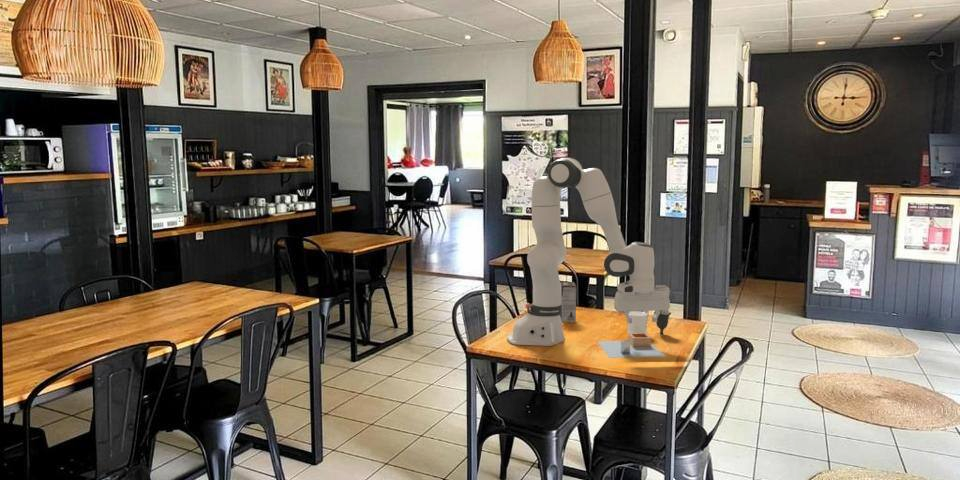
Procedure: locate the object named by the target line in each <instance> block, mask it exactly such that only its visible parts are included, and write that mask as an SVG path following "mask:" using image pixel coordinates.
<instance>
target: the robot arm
mask: <svg viewBox="0 0 960 480" xmlns="http://www.w3.org/2000/svg"><path fill="white" fill-rule="evenodd" d="M532 183H533V184H532V188H531V203H530V204H531V225H532V229H533V230H534V234H535V239H536V244H535V245H533V246H532V247H531V249H529V252H528V253H527V256H526V260H527V264H528V266H529V270H530V275H531V280H532V281H531V282H532V302H531V303H529V302H526V304H525V308H526V310H527V313H526V314H524V315H523V316H522V317H520V318H519V319H518V320H516V321H515V323H514V325H513V328H512V329H513V330H512V332H510V333H508V335H507V342H508V343H510V344H512V345H518V346H519V345H520V346H521V345H522V346H544V347H552V346H554V345H556V344H560V343H563V342H564V341H565V340H566V339H565V334H564V331H563V324H562V323H563V322H562V321H561V319H562V304H561V283H560V282H561V281H560V276H559V275H560V274H559V266H560V265H561V264H562V263H563V262H564V261H565V259H566V258H567V253H568V252H567V246H566V245H565V239H564V235H563V229H562V221H561V216H562V215H561V192H562V190H563V189H566V188H568V189H569V188H575V189H576V190H577V191H578V192H579V194H580V197H581V201H582V204H583V207H584V209H585V211H586V213H587V215H588V217H589V218H590V220H592V221H593V222H595V223H596V224H598V225H599V226H600V228H601V229H602V232H603V234H604V237H605V240H606V242H607V245H608V248H609V254H608V255H606V257H605V258H604V262H603V268H604V270H605V272H606V273H607V274H608V275H609V276H612V277H614V278H615V277H616V278H620V277H626V276H629V280H627V281H624V282H621V283H619V284H617V286H616V287H617V288H616V289H617V290H618V291H616V293H615V296H614V303H613V305H614V306H613V308H614V309H615V311H616V312H618V313H623V314H624V316H625V317H626V322H627V323H632V318H629V316H628V314H629V312H631V311H640V312H649V311H650V312H651V311H654V312H656V314H654V316H651V322H652V323H656V322H657V318H658V316H659V314H660V310H668V311H669V310H670V308H671V301H670V297H669V296H670V294H671V293H670V292H671V289H670V287H669V286H667V285H666V284H661V285H660V284H659V285H658V284H656V285H655V275H654V270H655V252H654V248H653V246H652V245H651V244H649V243H648V242H647V243H646V242H642V241H634V242H631V243H630V244H629V245H627V244H626V241H625V239H624V236H623V233H622V230H621V228H620V227H621V226H620V225H619V222H618V217H617V212H616V206H615V201H614V198H613V193H612V191H611V188H610V186H609V184H608V181H607V179H606V177H605V175H604V173H603V171H602V170H601V169H600V168H597V167H591V168H590V167H589V168H586V169H584V167H583V164H582V163H581V162H580V161H579V160H578V159H576V158H575V157H574V158H573V157H561V158H558V159H555V160H554V161H553V162H552V163H550V165H549V167H548V169H547V176H546V175H544V176H539V177H537V178H536V179H535V180H534V181H533V182H532Z"/></svg>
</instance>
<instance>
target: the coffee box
mask: <svg viewBox="0 0 960 480" xmlns="http://www.w3.org/2000/svg"><path fill="white" fill-rule="evenodd" d="M560 283H561V304H562V319H561V321H562V323H563V322H564V323H565V322H566V323H576V322H577V321H576V320H577V319H576V318H577V315H576V314H577V285H576V282H575V281H560Z"/></svg>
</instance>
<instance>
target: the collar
mask: <svg viewBox="0 0 960 480" xmlns="http://www.w3.org/2000/svg"><path fill="white" fill-rule="evenodd" d="M627 340H630V345H631V346H632V347H651V343H652V337H651V336H650V335H649V334H648V333H647V332H646V333H628V332H627Z"/></svg>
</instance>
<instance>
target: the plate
mask: <svg viewBox="0 0 960 480" xmlns="http://www.w3.org/2000/svg"><path fill="white" fill-rule="evenodd" d="M596 343H597V344H598V345H599V346H600V347H601V349H602V350H603V351H604V353H605V354H606V355H607V357H608V358H610V359H612V358H613V359H614V358H615V359H616V358H618V359H619V358H620V359H621V358H666V355H664V354H663V353H662V351H660V350H659V349H658V348H657V347H656V346H655V345H654V343H652V342H651V347H632V346H631V345H630V354H622V353H621V340H612V341H611V340H610V341H609V340H608V341H606V340H604V341H602V340H601V341H598V340H597V341H596Z"/></svg>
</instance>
